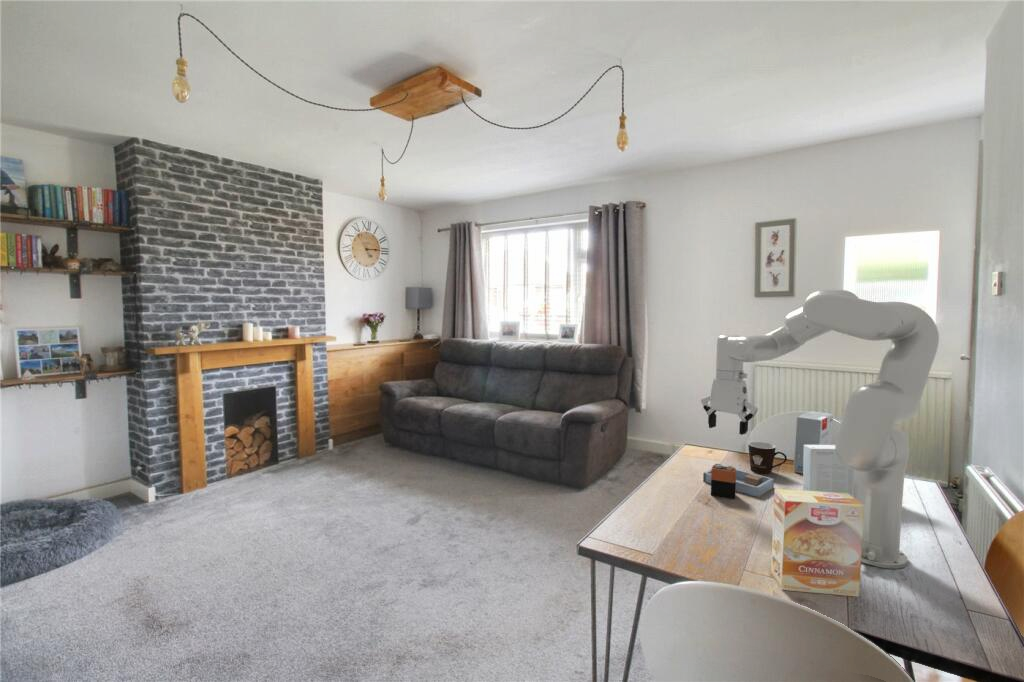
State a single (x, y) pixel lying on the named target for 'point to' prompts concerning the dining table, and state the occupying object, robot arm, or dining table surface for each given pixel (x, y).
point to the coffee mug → (762, 457)
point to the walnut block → (753, 480)
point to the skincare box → (825, 470)
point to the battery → (723, 481)
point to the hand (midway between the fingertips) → (727, 430)
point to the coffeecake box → (817, 542)
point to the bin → (746, 488)
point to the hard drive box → (811, 434)
